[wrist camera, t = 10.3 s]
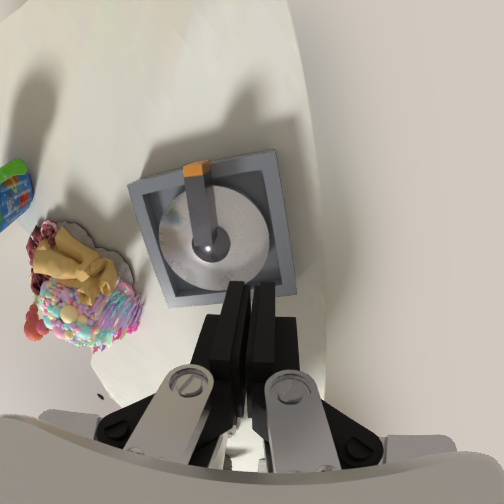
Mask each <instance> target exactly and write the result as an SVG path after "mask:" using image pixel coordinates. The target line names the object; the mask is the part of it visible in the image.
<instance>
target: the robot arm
mask: <svg viewBox="0 0 504 504" xmlns="http://www.w3.org/2000/svg"><path fill="white" fill-rule="evenodd" d="M246 392H247V412H248V418H252V429H253V430H254V431H255V432H256V433H257V434H258V435H260V436H261V437H262V438H263V447H264V455H265V463H266V471H267V473H260V472H243V471H231V470H223V464H224V457H225V451H226V444H227V438H230V437H232V436H233V435H235V433H236V429H237V428H236V424H237V417H242V418H243V415H244V406H245V398H246ZM0 504H504V470H503V469H502V467H501V465H500V464H499V463H498V462H497V461H496V460H495V459H494V458H493V457H490V456H489V455H485V454H481V453H477V452H467V451H465V452H457V449H456V446H455V443H454V442H453V441H452V439H451V438H449V437H447V436H445V435H387V437H378V436H376V435H375V434H374V433H373V432H371V431H370V430H368V429H366V428H365V427H363V426H361V425H360V424H358V423H357V422H355V421H354V420H352V419H350V418H349V417H347V416H346V415H344V414H343V413H341V412H340V411H338V410H337V409H335V408H334V407H332V406H330V405H329V404H327V403H326V402H325V401H323V400H322V399H321V398H320V395H319V392H318V388H317V385H316V383H315V381H314V380H313V379H312V378H311V377H310V376H309V375H308V374H306V373H304V372H302V371H300V366H299V352H298V338H297V325H296V317H275V282H261V283H260V285H255V287H254V295H253V303H252V311H251V288H250V285H245V281H229V285H228V288H227V292H226V295H225V299H224V303H223V306H222V310H221V314H220V315H214V314H207V315H206V317H205V320H204V323H203V326H202V329H201V332H200V335H199V338H198V341H197V344H196V347H195V350H194V354H193V357H192V360H191V363H190V364H187V365H181V366H179V367H176V368H174V369H173V370H171V371H170V372H169V373H168V374H167V376H166V377H165V379H164V380H163V382H162V384H161V385H160V387H159V389H158V390H157V392H156V393H155V394H153V395H151V396H148V397H146V398H144V399H142V400H140V401H138V402H136V403H133V404H131V405H129V406H127V407H124V408H122V409H120V410H118V411H115V412H113V413H111V414H109V415H107V416H105V417H104V418H100V417H99V415H96V414H85V413H77V412H69V411H61V410H55V409H52V410H47V411H44V412H43V413H42V414H41V415H40V416H39V418H38V419H37V418H34V417H29V416H25V415H17V414H3V415H0Z"/></svg>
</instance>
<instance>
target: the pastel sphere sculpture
mask: <svg viewBox="0 0 504 504" xmlns="http://www.w3.org/2000/svg"><path fill="white" fill-rule="evenodd" d="M32 236H33V240H32V238H31V237H30V238H29V240H28V243H27V246H26V249H27V252H28V255H29V263H30V265H31V267H32V269H31V275H30V276H29V277H30V285H31V289H32V293H33V298H34V300H35V301H34V302H33V304H32V305H31V306H30V308H29V309H30V311H28V312H27V314H26V320H27V321H26V323H25V325H24V332H25V334H26V336H27V337H28V338H29V339H30V340H32V341H39V340H40V339H41V338H42V337H43V335H46V334H47V333H48V332H49V330H51V331H53V332H54V334H55V336H56V337H58V338H60V339H64V340H66V341H67V342H69V343H71V344H72V345H74V346H78V347H80V346H81V345H82V346H83V345H84V346H87V345H88V346H90V347H93V349H94V350H93V354H94V352H96V351H98V350H97V349H98V348H99V349H100V348H102V349H101V350H104V348H108V347H111V345H112V344H113V342H114V340H116V339H119V338H120V340H121V339H122V338H123V337H124V335H125V333H129V334H130V333H132V332H135V331H136V330H137V323H138V321H139V320H140V319H139V320H138V321H137V319H138V317H139V315H140V313H141V312H142V310H141V307H142V306H143V305H141V307H140V308H139V311H138V309H137V308H138V304H139V302H140V300H141V299H139V301H138V302H137V298H138V296H139V295H140V293H139V294H138V296H135V292H134V291H133V288H132V285H133V284H132V283H133V278H132V275H131V272H130V269H129V266H128V264H127V263H125V262H124V261H123V259H122V257H121V256H120V255H119V254H118V253H117V252H115V251H106V250H105V249H104V248H96V247H95V246H94V243H93V241H92V239H91V238H90V237H89V236H88V235H87V233H86V231H85V230H84V229H82V228H81V227H80V226H78V225H77V224H76V223H71V224H69V223H67V222H66V221H63V222H57V223H56V224H55V223H54V222H50V221H49V220H46V221H45V222H43V224H42V228H41V231H40V229H39V228H38V226H37V225H36V226H35V229H34V231H33V234H32ZM134 296H135V297H134ZM37 305H38V307H39V309H40V310H41V311H42V312H43V314H44V319H40V320H39V317H38V314H37V312H38V307H37ZM135 306H136V308H135ZM137 311H138V313H137V315H136V312H137ZM135 315H136V317H135V318H134V316H135ZM136 321H137V323H136ZM116 334H117V335H118V336H117V337H116V338H115V339H114V338H113V337H114V335H116ZM101 352H102V351H101Z"/></svg>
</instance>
